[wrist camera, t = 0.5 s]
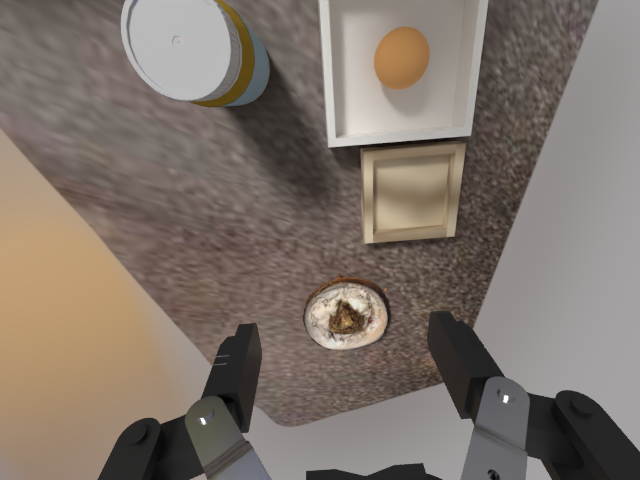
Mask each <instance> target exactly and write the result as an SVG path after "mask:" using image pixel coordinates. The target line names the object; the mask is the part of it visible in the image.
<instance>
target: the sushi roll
mask: <svg viewBox="0 0 640 480" xmlns="http://www.w3.org/2000/svg"><path fill="white" fill-rule="evenodd" d="M338 276H339V278H335V279H334V280H331V281H330V282H328V283H325V284H323V285H322V286H321V287H320V288H319V289H318V290H315V291H314V292H312V294H311V295H309V298H308V299H307V301H306V304H307V306H306V308H305V309H304V315H303V322H304V325H305V328H306V330H307V332H308V333H309V335H310V337H311V339H312V340H313V341H315V342H316V343H317V344H318V345H319V346H321V347H323V348H326V349H328V350H348V349H356V348H360V347H363V346H367V345H369V344H372V343H373V342H375V341H377V340H378V339H379V338H380V337H381V336H382V335H383V333H384V331H385V330H386V328H387V326H388V323H389V316H390V312H389V307H388V306H389V305H388V304H387V299H386V298H385V296H384V294H383V292H382V290H381V288H380V287H377V286H376V285H375V284H374V283H373V282H371V281H369V280H366V279H362V278H354V277H343V278H340V275H339V274H338ZM386 290H387V289H386V288H385V290H384V292H386Z"/></svg>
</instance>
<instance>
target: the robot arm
mask: <svg viewBox="0 0 640 480" xmlns="http://www.w3.org/2000/svg"><path fill="white" fill-rule="evenodd" d="M427 342H428V347H429V350H430V352H431V355H432V357H433V359H434V361H435V363H436V365H437V368H438V370H439V372H440V374H441V376H442V378H443V381H444V383H445V385H446V387H447V389H448V391H449V393H450V396H451V398H452V400H453V402H454V404H455V407H456V409H457V411H458V413H459V415H460V417H461V419H467V418H468V419H469V418H471V419H472V421H473V423H474V429H473V433H472V437H471V441H470V445H469V449H468V453H467V457H466V460H465V464H464V468H463V472H462V476H461V480H525V478H526V467H527V456H530V457H534V458H537V459H541V461H542V462H543V465H544V466H545V468H546V470H547V472H548V473H549V475H550V477H551V478H552V480H640V452H639V450H638V449H637V448H636V447H635V446H634V445H633V443H632V442H631V441H630V440H629V439H628V438H627V436H626V435H625V434H624V433H623V432H622V431H621V429H620V428H619V427H618V426H617V425H616V424H615V422H614V421H613V420H612V419H611V418H610V416H609V415H608V414H607V413H606V412H605V411H604V410H603V408H602V407H601V406H600V405H599V404H597V403H596V402H595V401H594V400H592V399H591V398H589V397H588V396H585V395H584V394H581V393H579V392H575V391H570V390H564V391H561V392H559V393H558V394H557V395H556V398H555V399H554V398H549V397H544V396H539V395H534V394H531V393H528V392H526V391H525V390H524V389H523V387H521V386H520V385H519V384H518V383H516V382H515V381H513V380H511V379H508V378H506V377H505V376H504V375H503V373H502V372H501V370H500V369H499V367H498V366H497V364H496V363H495V362H494V360H493V358H492V357H491V355H490V354H489V353H488V351H487V350H486V348H484V345H483V344H482V342H481V341H480V340H479V338H478V337H477V335H476V334H475V332H474V331H473V329H472V328H470V327H469V326H468V325H467V324H465V323H464V322H463V321H457V322H456V320H455V319H454V317H453V316H452V314H451V313H450V311H448V310H447V311H432V312H431V313H430V318H429V326H428V334H427ZM261 360H262V349H261V343H260V338H259V333H258V329H257V325H256V323H250V324H239V326H238V328H237V332H236V335H235V336H231V337H227V338H226V339H225V340H224V341H223V343H222V344H221V345H220V347H219V350H218V352H217V355H216V358H215V361H214V365H213V366H212V369H211V372H210V375H209V378H208V381H207V383H206V386H205V389H204V392H203V394H202V397H201V399H200V400H198V401H197V402H195V403H194V404H193V405H192V406H191V407H190V409H189V410H188V412H187V414H185V415H184V416H181V417H179V418H176V419H174V420H171V421H168V422H165V423H163V424H159V422H158V421H157V420H156V419H154V418H144V419H141V420H138V421H136V422H134V423H133V424H131V425H130V426H129V427H128V428H126V429H125V430H124V431H123V432H122V434H121V435H120V436H119V438H118V440H117V442H116V444H115V446H114V448H113V450H112V452H111V454H110V456H109V458H108V460H107V462H106V464H105V466H104V468H103V470H102V472H101V474H100V476H99V478H98V480H190V479H192V478H194V477H196V476H199V475H201V474H203V473H205V475H206V477H207V480H271V478H270V476H269V474H268V473H267V471H266V469H265V468H264V466H263V464H262V462H261V461H260V459H259V457H258V456H257V454H256V452H255V450H254V449H253V447H252V445H251V444H250V442H249V441H246V440H245V439H244V437H243V435H242V433H248V431H249V426H250V420H251V415H252V409H253V404H254V399H255V394H256V388H257V383H258V377H259V372H260V366H261ZM306 480H442V479H440V478H438V477H435V476H433V475H430V474H426V472H425V468H424V465H423V463H420V464H405V465H394V466H391V467H389V468H386V469H383V470H381V471H378V472H376V473H373V474H371V475H368V476H362V475H358V474H353V473H349V472H345V471H340V470H336V469H331V470H316V471H306Z"/></svg>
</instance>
